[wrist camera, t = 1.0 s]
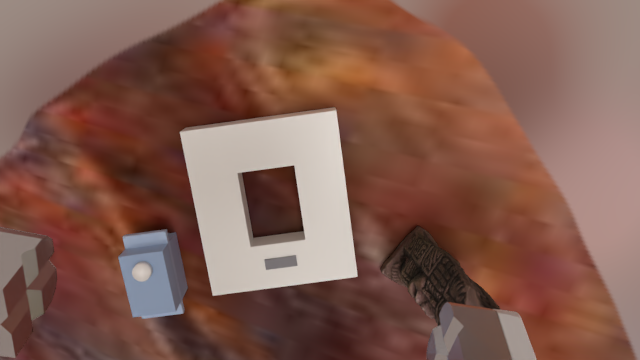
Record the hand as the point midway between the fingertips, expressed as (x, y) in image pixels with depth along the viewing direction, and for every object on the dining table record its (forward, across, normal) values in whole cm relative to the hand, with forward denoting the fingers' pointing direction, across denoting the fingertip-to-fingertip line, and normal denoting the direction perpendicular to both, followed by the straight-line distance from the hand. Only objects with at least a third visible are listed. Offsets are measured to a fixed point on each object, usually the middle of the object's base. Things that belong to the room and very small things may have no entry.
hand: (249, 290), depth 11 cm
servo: (+32, -10, -30) cm, 45 cm away
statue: (+34, +15, -25) cm, 45 cm away
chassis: (+34, -1, -22) cm, 41 cm away
